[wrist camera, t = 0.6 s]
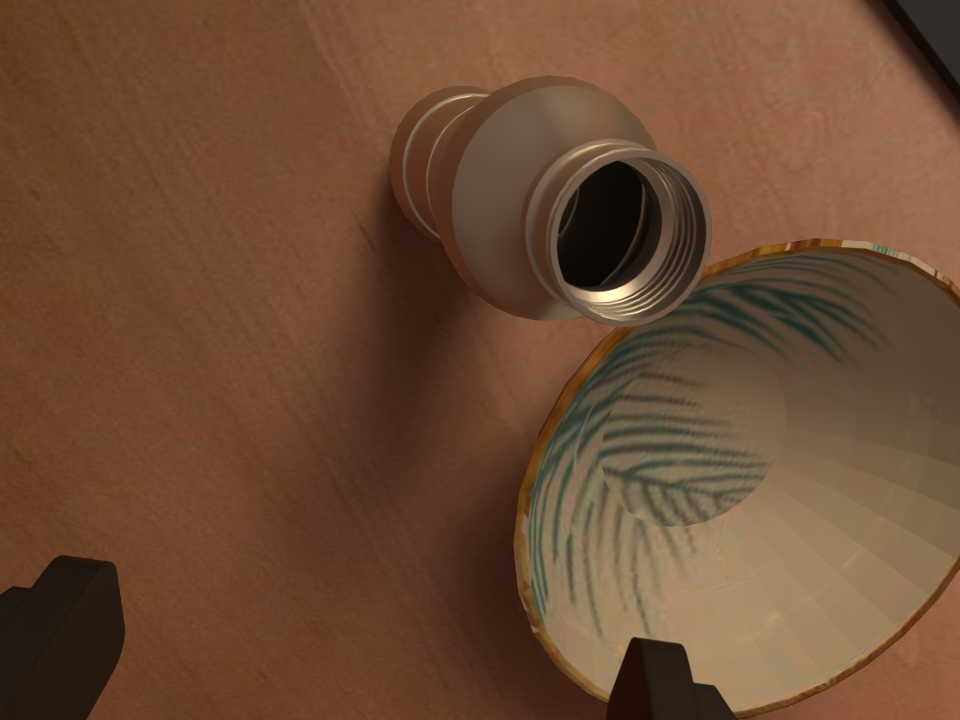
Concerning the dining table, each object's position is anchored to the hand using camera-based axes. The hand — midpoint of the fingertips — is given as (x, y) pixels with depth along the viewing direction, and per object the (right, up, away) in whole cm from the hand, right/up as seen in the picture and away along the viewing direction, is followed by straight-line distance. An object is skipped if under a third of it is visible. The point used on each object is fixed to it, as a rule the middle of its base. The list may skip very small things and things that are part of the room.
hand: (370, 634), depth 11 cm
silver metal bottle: (+1, +13, +22) cm, 26 cm away
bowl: (+14, 0, +30) cm, 33 cm away
